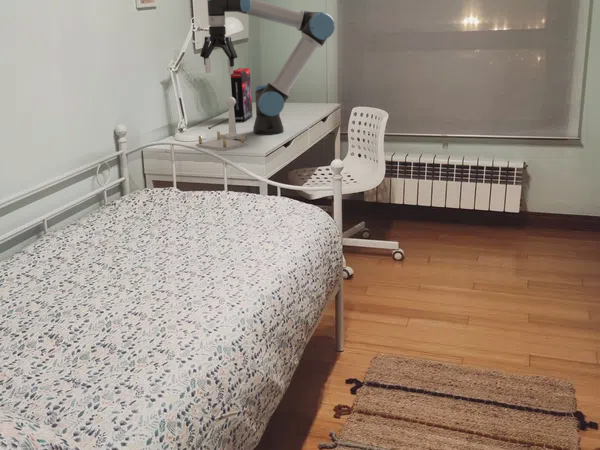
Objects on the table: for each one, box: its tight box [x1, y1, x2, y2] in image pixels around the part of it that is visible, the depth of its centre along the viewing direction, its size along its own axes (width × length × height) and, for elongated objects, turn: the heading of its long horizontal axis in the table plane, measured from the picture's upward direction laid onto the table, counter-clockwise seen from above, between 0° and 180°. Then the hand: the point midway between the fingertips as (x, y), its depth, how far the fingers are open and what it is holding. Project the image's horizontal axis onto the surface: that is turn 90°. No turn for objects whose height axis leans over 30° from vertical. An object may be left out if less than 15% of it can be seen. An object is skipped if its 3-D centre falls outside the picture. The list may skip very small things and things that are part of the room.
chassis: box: [195, 131, 249, 152], centre depth 315 cm, size 16×17×5 cm
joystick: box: [220, 96, 245, 141], centre depth 326 cm, size 11×8×20 cm
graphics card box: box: [229, 67, 253, 123], centre depth 379 cm, size 17×7×27 cm, turn 168°
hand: (219, 73), depth 321 cm, fingers open, 13 cm apart
